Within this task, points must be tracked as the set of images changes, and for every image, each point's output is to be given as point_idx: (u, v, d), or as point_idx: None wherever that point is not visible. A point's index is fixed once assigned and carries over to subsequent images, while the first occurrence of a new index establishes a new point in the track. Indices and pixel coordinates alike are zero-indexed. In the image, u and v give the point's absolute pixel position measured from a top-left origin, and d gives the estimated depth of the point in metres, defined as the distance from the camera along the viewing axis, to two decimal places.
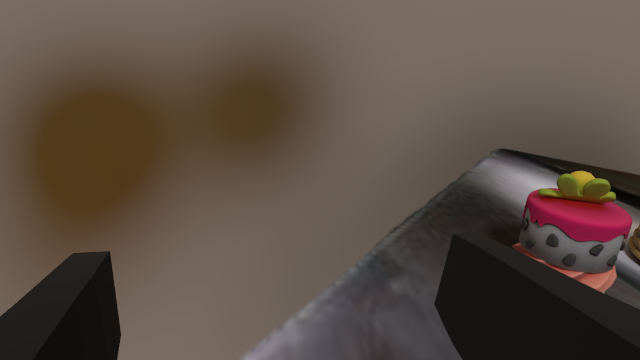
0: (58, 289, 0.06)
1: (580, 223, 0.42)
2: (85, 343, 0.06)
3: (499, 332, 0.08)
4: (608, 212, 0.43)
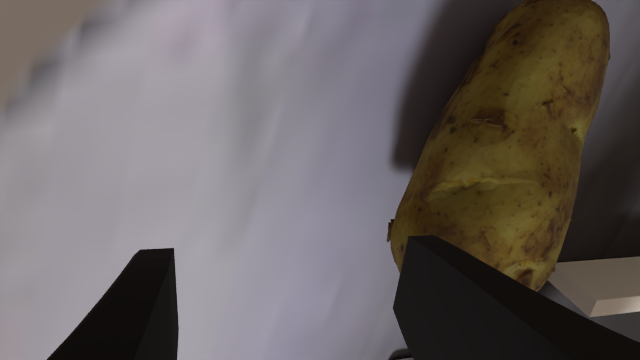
0: (140, 283, 0.06)
1: None
2: (163, 335, 0.07)
3: (448, 338, 0.08)
4: None
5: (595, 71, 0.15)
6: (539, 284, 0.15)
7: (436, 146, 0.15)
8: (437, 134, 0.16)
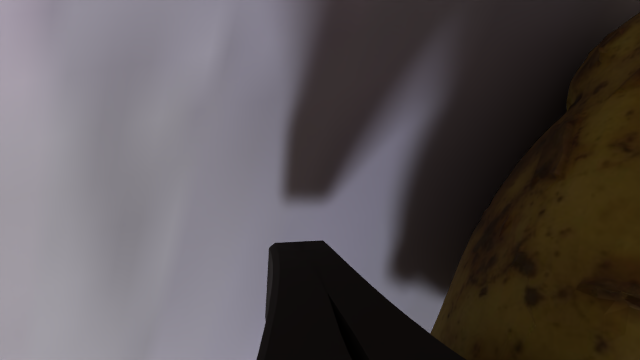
0: (301, 272, 0.07)
1: None
2: None
3: None
4: None
5: None
6: None
7: (490, 323, 0.07)
8: (489, 284, 0.07)
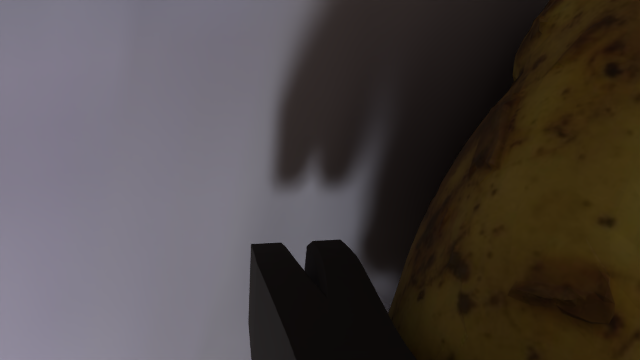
0: (346, 269, 0.07)
1: None
2: None
3: None
4: None
5: None
6: None
7: (425, 332, 0.06)
8: (426, 287, 0.07)
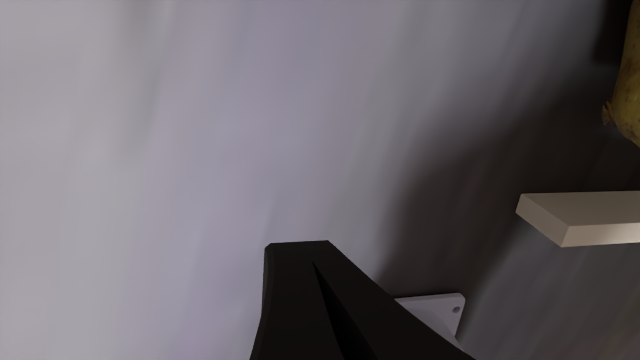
0: (296, 272, 0.07)
1: None
2: None
3: None
4: None
5: None
6: None
7: None
8: None
